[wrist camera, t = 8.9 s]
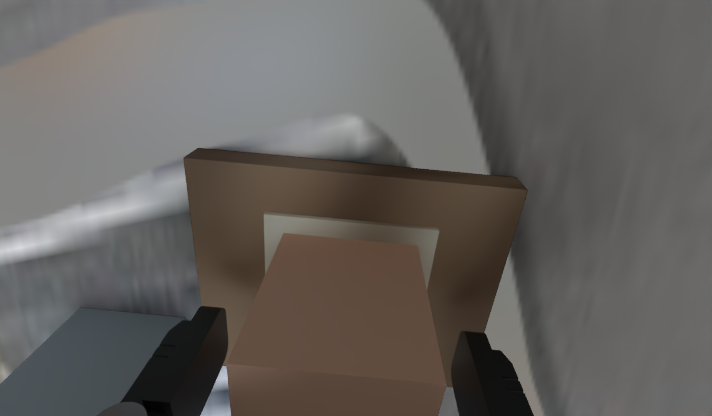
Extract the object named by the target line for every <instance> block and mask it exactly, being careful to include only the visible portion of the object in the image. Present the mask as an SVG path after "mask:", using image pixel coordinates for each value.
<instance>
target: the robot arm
mask: <svg viewBox="0 0 712 416" xmlns="http://www.w3.org/2000/svg"><path fill="white" fill-rule="evenodd" d="M227 351H228V330H227V318H226V310H225V308H220V307H209V306H201V307H200V308H199V309H198V311H197V312H196V314H195V316H194V317H193V319H192V320H191V321H186V320H182V321H181V322H179V323H178V324H177V325H176V326H174V327H173V328H172V329H170V330H169V331H168V333H167V334H166V335H165V337H164V338H163V340H162V341H161V343H160V346H159V347H157V349H156V350H155V352H154V353H153V355H152V358H150V359H149V361H148V362H147V364H146V365H145V367H144V368H143V370H142V371H141V373H140V374H139V376H138V377H137V379H136V380H135V381H134V383H133V384H132V386H131V387H130V389H129V390H128V392H127V393H126V395H125V396H124V398H123V399H122V400H121V402H120V403H118V404H115V405H112V406H110V407H108V408H107V409H105V410H103V411H102V412H100V413H99V414H98V415H97V416H200V415H201V413H202V410H203V408H204V406H205V404H206V401H207V399H208V397H209V395H210V392H211V390H212V388H213V386H214V383H215V381H216V379H217V377H218V374H219V372H220V370H221V368H222V365H223V363H224V361H225V358H226V355H227ZM451 379H452V385H453V389H454V394H455V398H456V403H457V407H458V412H459V416H534V415H533V413H532V410H531V408H530V405H529V403H528V401H527V398H526V396H525V394H524V393H523V389H522V386H521V384H520V382H519V381H518V377H517V374H516V372H515V369H514V367H513V365H512V363H511V362H510V361H509V360H508V358H507V357H506V356H505V355H504V354H503V353H502V352H501V351H500V350H492V349H491V346H490V344H489V341H488V338H487V336H486V334H485V333H481V332H470V331H461V332H460V335H459V338H458V342H457V346H456V349H455V353H454V357H453V360H452V365H451Z"/></svg>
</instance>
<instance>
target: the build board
mask: <svg viewBox="0 0 712 416" xmlns="http://www.w3.org/2000/svg"><path fill="white" fill-rule="evenodd" d="M184 167H185V175H186V183H187V191H188V199H189V207H190V216H191V224H192V232H193V240H194V248H195V257H196V265H197V273H198V281H199V289H200V298H201V306H209V307H220V308H225V310H226V318H227V330H228V351H227V355H226V358H225V361H224V363H223V365H222V366H227V361H228V359H229V357H230V355H231V352H232V350H233V348H234V345H235V343H236V341H237V338H238V336H239V334H240V332H241V329H242V327H243V325H244V322H245V320H246V318H247V316H248V313H249V311H250V309H251V306H252V304H253V302H254V299H255V297H256V295H257V293H258V290H259V288H260V286H261V283H262V281H263V279H264V276H265V274H266V272H267V270H268V267H269V265H270V263H271V260H272V258H273V256H274V253H275V251H276V249H277V247H278V244H279V242H280V240H281V237H282V235H283V233H289V234H299V235H310V236H321V237H331V238H342V239H353V240H363V241H374V242H385V243H395V244H406V245H417V246H418V250H419V254H420V259H421V264H422V269H423V274H424V278H425V283H426V288H427V293H428V298H429V302H430V307H431V312H432V317H433V322H434V326H435V331H436V336H437V341H438V346H439V350H440V355H441V360H442V365H443V370H444V374H445V379H446V384H447V385H446V386H447V387H453V385H452V379H451V365H452V360H453V357H454V353H455V349H456V346H457V342H458V338H459V335H460V332H461V331H470V332H481V333H484V331H485V328H486V325H487V322H488V318H489V315H490V312H491V309H492V306H493V302H494V299H495V296H496V293H497V289H498V286H499V283H500V279H501V276H502V273H503V270H504V266H505V264H506V260H507V257H508V254H509V251H510V247H511V244H512V241H513V238H514V235H515V231H516V228H517V225H518V222H519V218H520V215H521V212H522V209H523V205H524V202H525V199H526V196H527V193H528V189H527V188H526V187H525V186H524V185H523V184H522V183H521V182H520V181H519V180H518V179H517V178H514V177H504V176H493V175H482V174H472V173H471V174H470V173H460V172H450V171H439V170H429V169H418V168H407V167H397V166H386V165H375V164H364V163H354V162H343V161H332V160H322V159H311V158H300V157H289V156H279V155H268V154H257V153H246V152H236V151H225V150H214V149H204V148H197V149H196V150H194V151H193V152H191V153H190V154H188V155H187V156H186V157H184Z"/></svg>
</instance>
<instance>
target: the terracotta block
mask: <svg viewBox="0 0 712 416" xmlns="http://www.w3.org/2000/svg"><path fill="white" fill-rule="evenodd" d="M227 375H228V386H229V396H230V407H231V416H438V414H439V410H440V406H441V403H442V399H443V395H444V392H445V388H446V385H447V384H446V379H445V374H444V370H443V365H442V360H441V355H440V350H439V346H438V341H437V336H436V331H435V326H434V322H433V317H432V312H431V307H430V302H429V298H428V293H427V288H426V283H425V278H424V274H423V269H422V264H421V259H420V254H419V250H418V246H417V245H406V244H395V243H385V242H374V241H363V240H353V239H342V238H331V237H321V236H310V235H299V234H289V233H283V235H282V237H281V240H280V242H279V244H278V247H277V249H276V251H275V253H274V256H273V258H272V260H271V263H270V265H269V267H268V270H267V272H266V274H265V276H264V279H263V281H262V283H261V286H260V288H259V290H258V293H257V295H256V297H255V299H254V302H253V304H252V306H251V309H250V311H249V313H248V316H247V318H246V320H245V322H244V325H243V327H242V329H241V332H240V334H239V336H238V338H237V341H236V343H235V345H234V348H233V350H232V352H231V355H230V357H229V359H228V361H227Z"/></svg>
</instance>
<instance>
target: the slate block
mask: <svg viewBox="0 0 712 416" xmlns="http://www.w3.org/2000/svg"><path fill="white" fill-rule="evenodd" d="M182 320H185V318H182V317H172V316H161V315H151V314H140V313H130V312H120V311H109V310H99V309H89V308H79V309H78V310H77V311H76V312H75V313H74V314H73V315H72V316H71V317H70V318H69V319H68V320H67V321H66V322H65V323H64V324H63V325H62V326H61V327H59V328H58V329H57V330H56V331H55V332H54V333H53V334H52V335H51V336H50V337H49V338H48V339H47V340H46V341H45V342H44V343H43V344H42V345H41V346H40V347H39V348H38V349H36V350H35V351H34V352H33V353H32V354H31V355H30V356H29V357H28V358H27V359H26V360H25V361H24V362H23V363H22V364H21V365H20V366H19V367H18V368H17V369H16V370H15V371H13V372H12V373H11V374H10V375H9V376H8V377H7V378H6V379H5V380H4V381H3V382H2V383H1V384H0V416H97V415H98V414H99V413H100V412H102V411H103V410H105V409H107V408H108V407H110V406H112V405H115V404H118V403H120V402H121V400H122V399H123V398H124V396H125V395H126V393H127V392H128V390H129V389H130V387H131V386H132V384H133V383H134V381H135V380H136V379H137V377H138V376H139V374H140V373H141V371H142V370H143V368H144V367H145V365H146V364H147V362H148V361H149V359H150V358H152V355H153V353H154V352H155V350H156V349H157V347H159V346H160V343H161V341H162V340H163V338H164V337H165V335H166V334H167V333H168V331H169V330H170V329H172V328H173V327H174V326H176V325H177V324H178V323H179V322H181V321H182Z"/></svg>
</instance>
